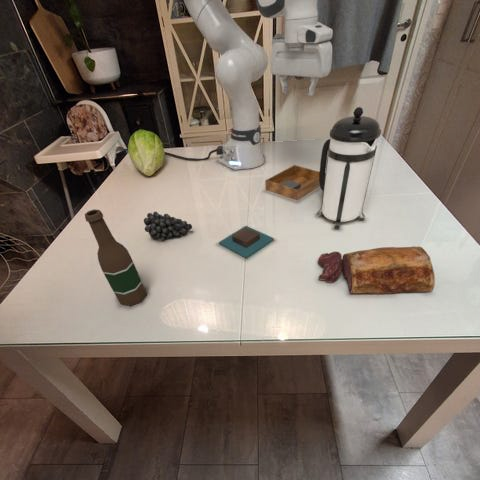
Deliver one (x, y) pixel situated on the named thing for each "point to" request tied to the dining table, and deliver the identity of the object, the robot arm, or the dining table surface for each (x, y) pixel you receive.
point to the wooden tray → (296, 174)
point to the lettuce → (146, 151)
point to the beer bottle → (116, 262)
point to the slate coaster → (292, 184)
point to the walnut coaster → (245, 237)
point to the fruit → (165, 226)
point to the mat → (249, 250)
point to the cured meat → (381, 270)
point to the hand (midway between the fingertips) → (297, 94)
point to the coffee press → (347, 166)
